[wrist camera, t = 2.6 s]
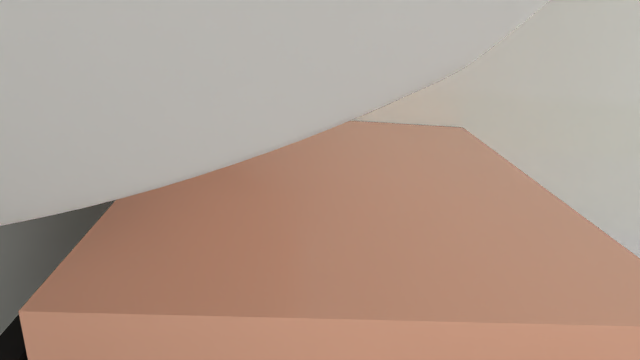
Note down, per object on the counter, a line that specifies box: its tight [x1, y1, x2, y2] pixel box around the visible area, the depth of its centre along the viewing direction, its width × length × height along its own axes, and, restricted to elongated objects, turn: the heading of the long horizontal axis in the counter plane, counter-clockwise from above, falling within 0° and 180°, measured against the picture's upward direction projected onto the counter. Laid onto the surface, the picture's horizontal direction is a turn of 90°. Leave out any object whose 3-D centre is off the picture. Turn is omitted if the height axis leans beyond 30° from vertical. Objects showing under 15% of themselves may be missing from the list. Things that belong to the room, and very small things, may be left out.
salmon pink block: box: [18, 121, 640, 360], centre depth 9 cm, size 7×7×8 cm
